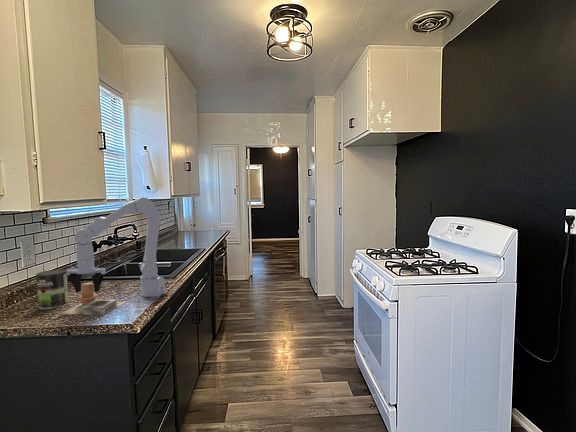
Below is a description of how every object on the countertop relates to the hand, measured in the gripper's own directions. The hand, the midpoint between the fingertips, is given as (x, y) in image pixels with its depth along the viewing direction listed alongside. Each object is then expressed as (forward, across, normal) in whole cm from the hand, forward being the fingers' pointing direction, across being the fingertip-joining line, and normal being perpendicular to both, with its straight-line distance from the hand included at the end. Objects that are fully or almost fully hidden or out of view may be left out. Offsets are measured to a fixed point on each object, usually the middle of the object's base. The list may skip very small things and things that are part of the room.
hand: (88, 291), depth 130 cm
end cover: (+5, 0, 0) cm, 5 cm away
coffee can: (+7, +17, -4) cm, 19 cm away
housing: (+7, -4, +4) cm, 9 cm away
